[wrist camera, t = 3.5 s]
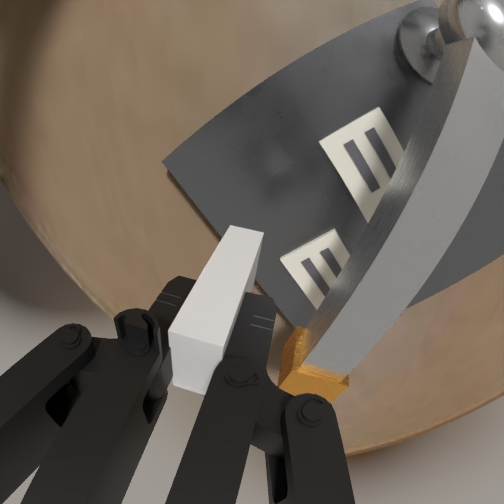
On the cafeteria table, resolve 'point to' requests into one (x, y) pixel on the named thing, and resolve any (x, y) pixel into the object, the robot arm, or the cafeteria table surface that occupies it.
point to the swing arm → (412, 205)
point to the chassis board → (317, 161)
